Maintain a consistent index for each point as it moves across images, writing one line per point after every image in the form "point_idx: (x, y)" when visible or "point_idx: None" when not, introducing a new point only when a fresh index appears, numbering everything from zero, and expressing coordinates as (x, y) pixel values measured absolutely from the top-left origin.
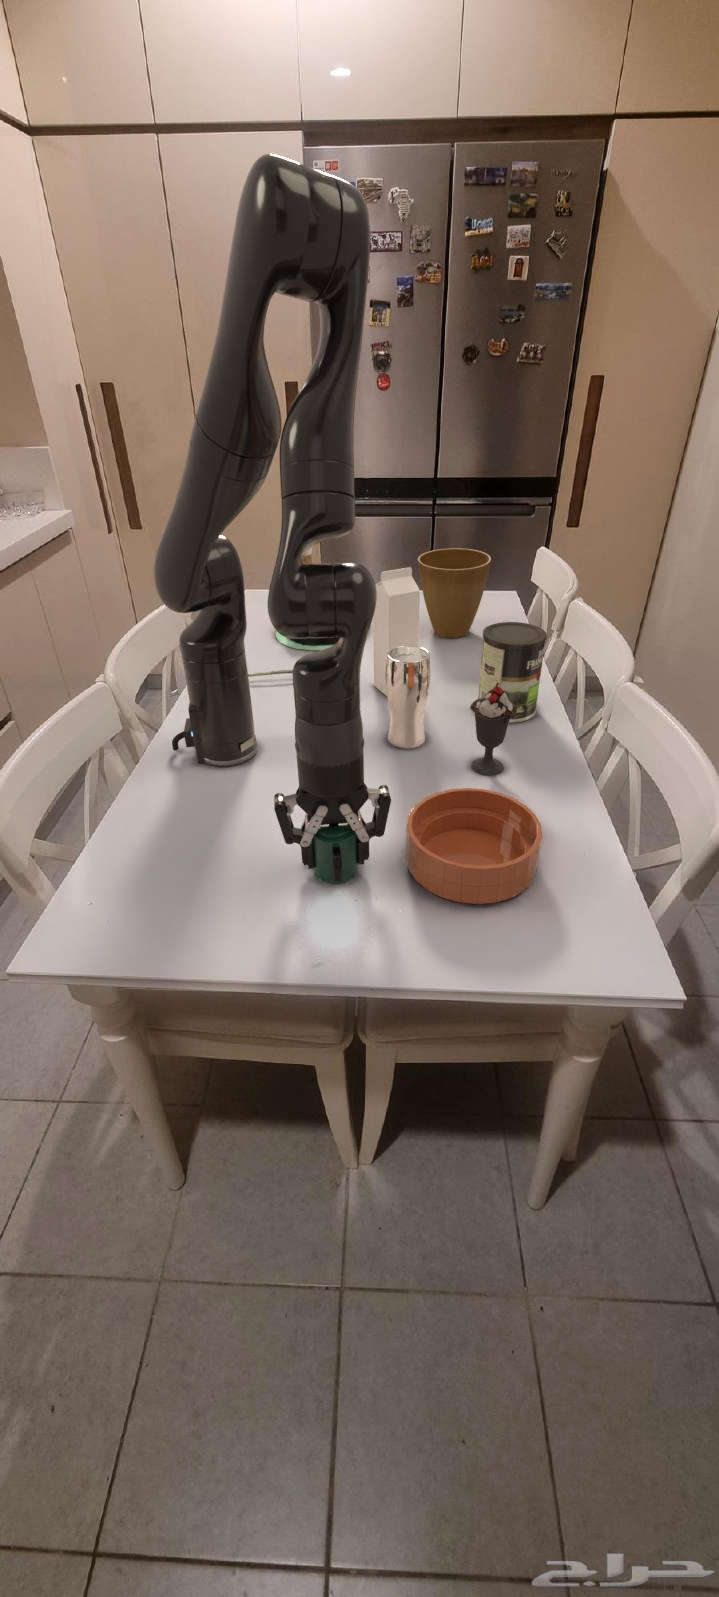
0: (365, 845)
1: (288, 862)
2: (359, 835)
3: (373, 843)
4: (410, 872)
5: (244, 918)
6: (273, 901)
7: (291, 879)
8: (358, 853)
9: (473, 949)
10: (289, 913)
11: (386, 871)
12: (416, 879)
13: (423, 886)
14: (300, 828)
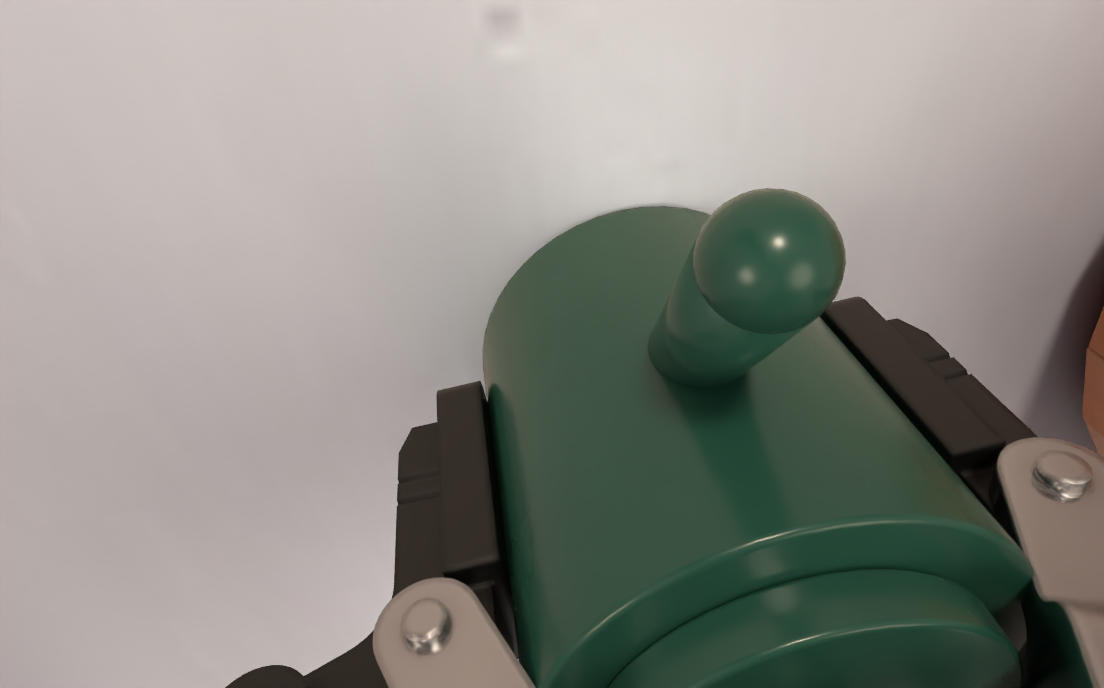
0: None
1: (268, 322)
2: None
3: (956, 19)
4: (1086, 366)
5: (210, 684)
6: (310, 594)
7: (354, 458)
8: None
9: None
10: None
11: (945, 323)
12: (1091, 425)
13: (1097, 450)
14: (387, 683)
